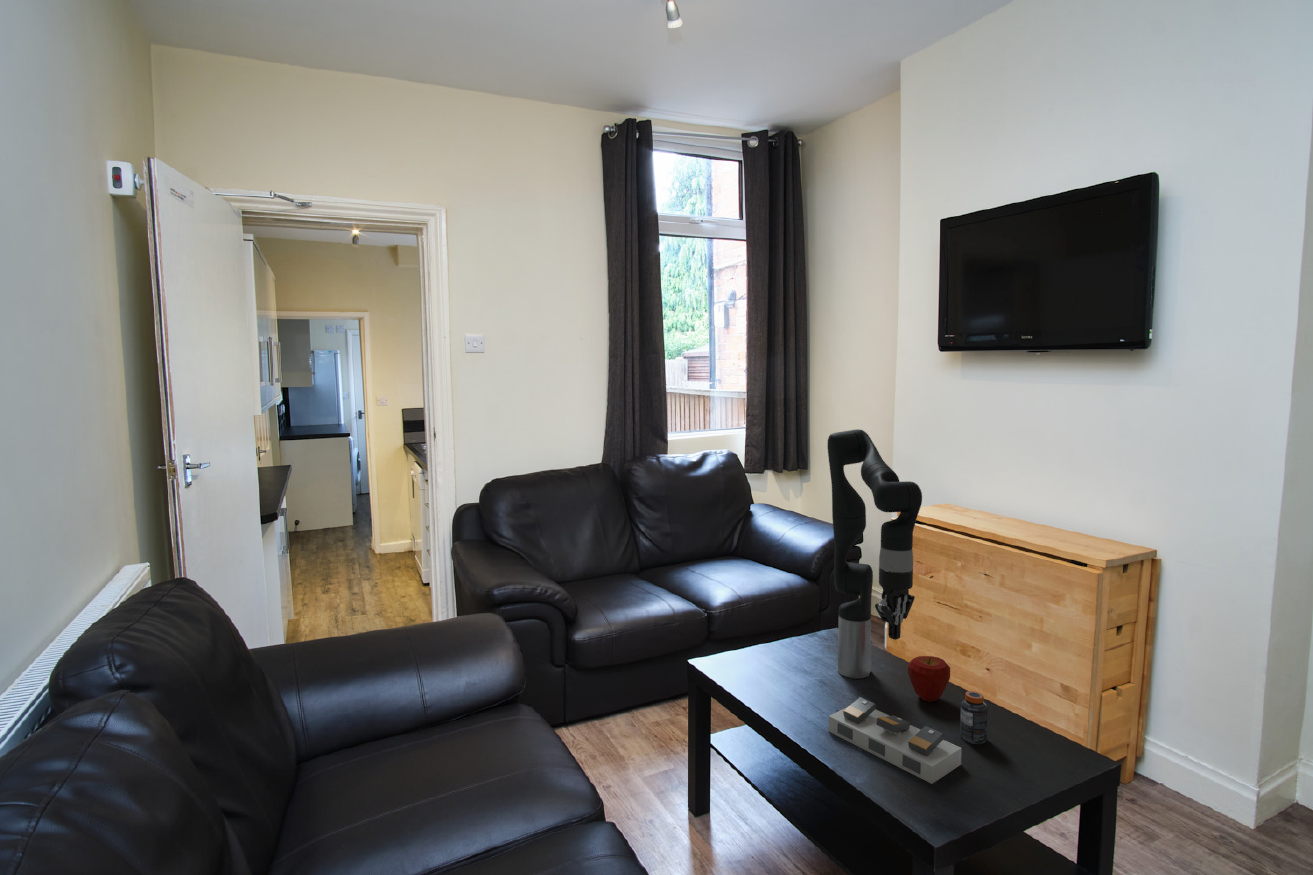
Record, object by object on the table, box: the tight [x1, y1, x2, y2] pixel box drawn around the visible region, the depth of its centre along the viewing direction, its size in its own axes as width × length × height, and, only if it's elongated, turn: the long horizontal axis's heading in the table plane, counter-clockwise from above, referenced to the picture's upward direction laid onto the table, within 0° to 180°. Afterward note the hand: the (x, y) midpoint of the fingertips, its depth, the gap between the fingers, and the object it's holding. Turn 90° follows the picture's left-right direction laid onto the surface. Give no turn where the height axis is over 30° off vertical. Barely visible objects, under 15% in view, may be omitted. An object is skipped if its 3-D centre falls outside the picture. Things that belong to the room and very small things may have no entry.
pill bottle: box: [959, 690, 989, 745], centre depth 166 cm, size 6×6×11 cm
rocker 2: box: [876, 715, 911, 732], centre depth 163 cm, size 7×4×2 cm, turn 127°
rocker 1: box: [843, 696, 877, 724], centre depth 170 cm, size 7×4×2 cm, turn 127°
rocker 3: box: [908, 725, 944, 756], centre depth 156 cm, size 7×4×2 cm, turn 127°
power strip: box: [828, 707, 962, 785], centre depth 164 cm, size 12×30×4 cm, turn 37°
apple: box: [907, 655, 951, 703], centre depth 187 cm, size 11×11×12 cm
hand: (894, 638), depth 161 cm, fingers closed
